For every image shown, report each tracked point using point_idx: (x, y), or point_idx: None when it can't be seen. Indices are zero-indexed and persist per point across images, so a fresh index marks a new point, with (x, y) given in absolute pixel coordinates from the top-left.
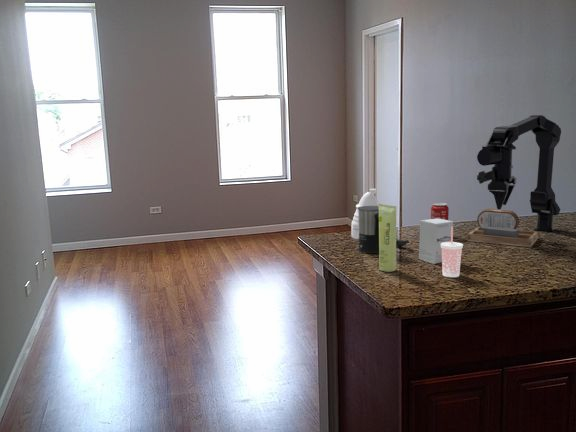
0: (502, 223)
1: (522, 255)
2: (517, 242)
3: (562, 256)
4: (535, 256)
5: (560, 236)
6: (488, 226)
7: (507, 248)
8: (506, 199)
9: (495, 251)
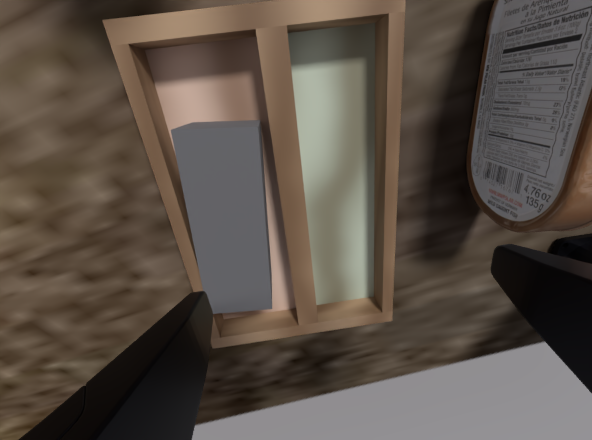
0: (508, 136)
1: (63, 345)
2: None
3: None
4: (88, 375)
5: (456, 338)
6: (257, 136)
7: (129, 271)
8: (548, 323)
9: (30, 254)
